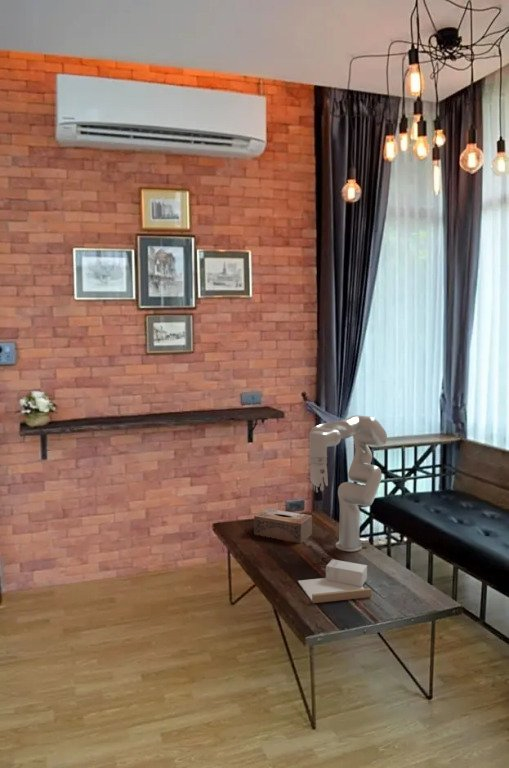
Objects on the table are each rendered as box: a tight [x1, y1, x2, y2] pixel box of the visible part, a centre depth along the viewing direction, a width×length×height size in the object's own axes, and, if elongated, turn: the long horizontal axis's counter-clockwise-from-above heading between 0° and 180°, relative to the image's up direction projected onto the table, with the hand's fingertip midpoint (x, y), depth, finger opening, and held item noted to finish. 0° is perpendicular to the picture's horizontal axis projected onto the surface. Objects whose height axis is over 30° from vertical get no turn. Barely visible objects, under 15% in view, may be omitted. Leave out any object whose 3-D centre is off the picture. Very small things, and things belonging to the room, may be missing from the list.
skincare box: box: [325, 558, 368, 587], centre depth 250 cm, size 8×7×16 cm
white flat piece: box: [297, 577, 372, 604], centre depth 243 cm, size 24×19×3 cm
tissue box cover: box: [253, 508, 313, 544], centre depth 306 cm, size 26×14×10 cm, turn 63°
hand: (318, 500), depth 264 cm, fingers closed
